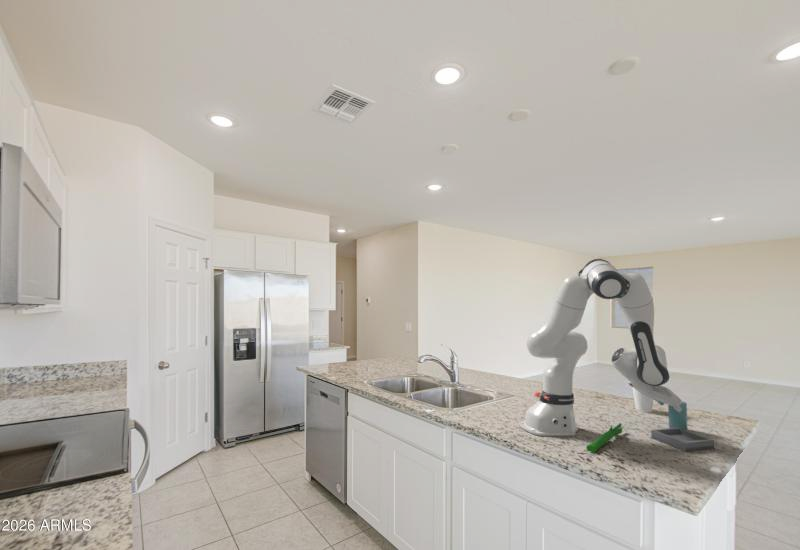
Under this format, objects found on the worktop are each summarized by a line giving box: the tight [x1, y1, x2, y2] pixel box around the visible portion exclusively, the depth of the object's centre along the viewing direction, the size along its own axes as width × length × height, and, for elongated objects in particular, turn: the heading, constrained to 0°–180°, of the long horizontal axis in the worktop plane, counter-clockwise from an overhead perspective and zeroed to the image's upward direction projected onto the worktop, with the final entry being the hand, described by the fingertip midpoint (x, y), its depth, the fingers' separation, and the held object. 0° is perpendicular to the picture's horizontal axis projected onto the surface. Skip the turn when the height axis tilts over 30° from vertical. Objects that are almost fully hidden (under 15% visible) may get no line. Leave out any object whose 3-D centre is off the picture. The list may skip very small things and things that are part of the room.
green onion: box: [586, 422, 623, 453], centre depth 135 cm, size 5×3×30 cm
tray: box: [650, 427, 715, 453], centre depth 134 cm, size 13×13×3 cm
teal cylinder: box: [667, 401, 689, 431], centre depth 148 cm, size 6×6×11 cm
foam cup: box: [631, 386, 654, 413], centre depth 173 cm, size 10×9×13 cm
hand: (670, 407), depth 147 cm, fingers open, 8 cm apart
